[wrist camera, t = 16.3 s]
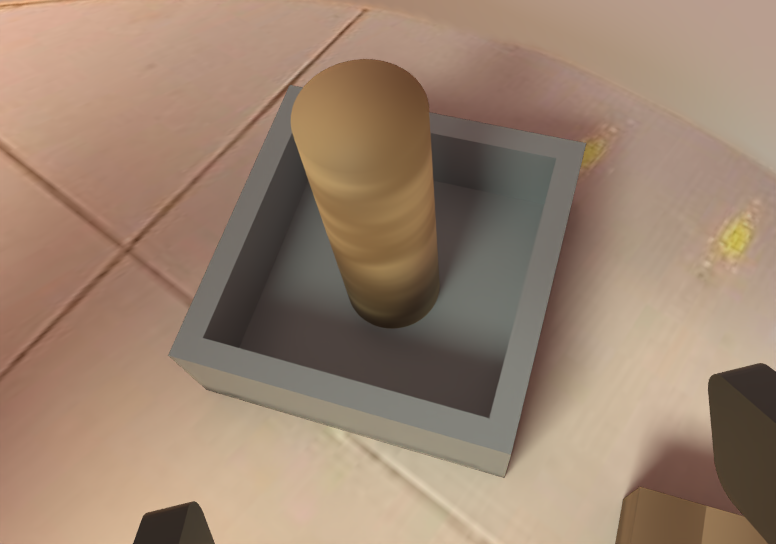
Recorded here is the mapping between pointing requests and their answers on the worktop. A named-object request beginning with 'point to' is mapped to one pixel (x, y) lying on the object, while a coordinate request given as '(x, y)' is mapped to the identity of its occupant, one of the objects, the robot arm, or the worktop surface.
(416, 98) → the dowel
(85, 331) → the worktop surface
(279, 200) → the tray
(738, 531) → the socket block
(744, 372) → the robot arm
